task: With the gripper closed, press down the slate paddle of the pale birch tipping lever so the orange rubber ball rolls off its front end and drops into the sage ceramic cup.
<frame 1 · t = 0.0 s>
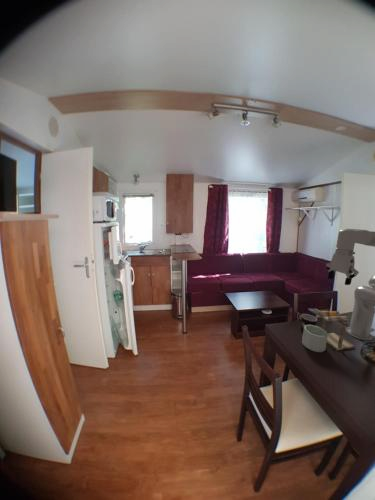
hand: (338, 281, 106), 37 cm above the table, tool pointing down, fingers open, 9 cm apart
tipping lever: (329, 317, 108), point 15 cm above the table, hinge at -6.0°, touching ball
lever stand: (329, 342, 109), on the table
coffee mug: (305, 330, 121), on the table
ball: (333, 314, 105), point 18 cm above the table, tilted 6°, touching tipping lever
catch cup: (313, 345, 107), on the table
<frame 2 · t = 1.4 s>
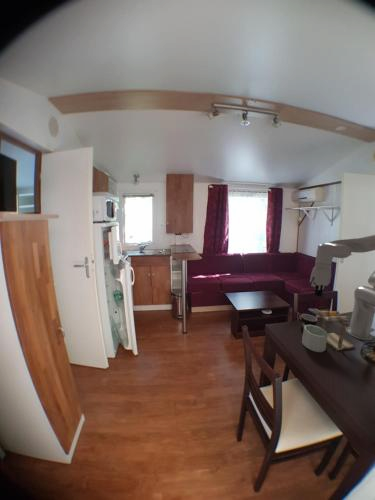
hand: (317, 295, 110), 27 cm above the table, tool pointing down, fingers closed
nothing on the table moved.
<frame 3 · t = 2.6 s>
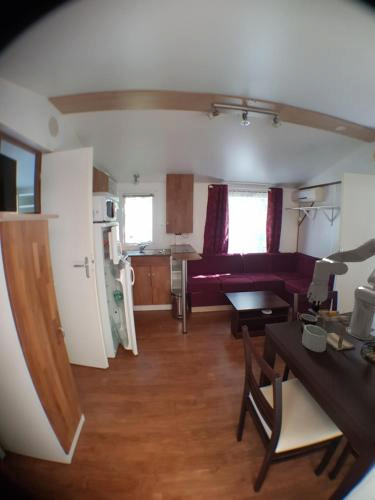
hand: (315, 310, 111), 17 cm above the table, tool pointing down, fingers closed
tipping lever: (329, 317, 109), point 15 cm above the table, hinge at -4.7°, touching ball, gripper
everything else where it was.
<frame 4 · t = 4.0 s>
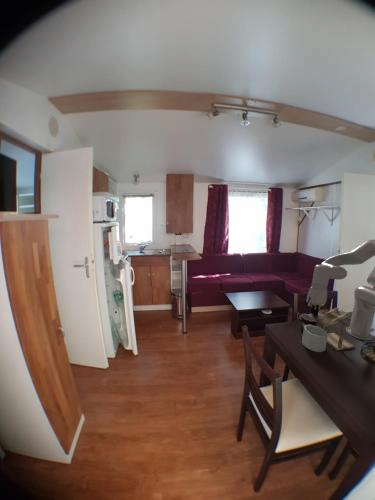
hand: (314, 314, 112), 15 cm above the table, tool pointing down, fingers closed
tipping lever: (330, 317, 109), point 15 cm above the table, hinge at 20.7°, touching gripper
ball: (317, 341, 107), point 2 cm above the table, tilted 89°, touching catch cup
everything else where it was.
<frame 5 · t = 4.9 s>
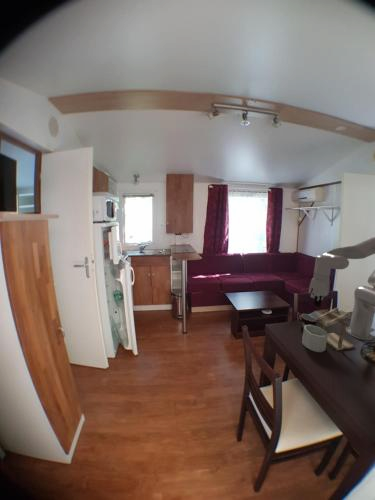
hand: (317, 305, 111), 20 cm above the table, tool pointing down, fingers closed
tipping lever: (330, 317, 109), point 15 cm above the table, hinge at 20.7°
ball: (316, 341, 107), point 2 cm above the table, tilted 71°, touching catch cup
everything else where it was.
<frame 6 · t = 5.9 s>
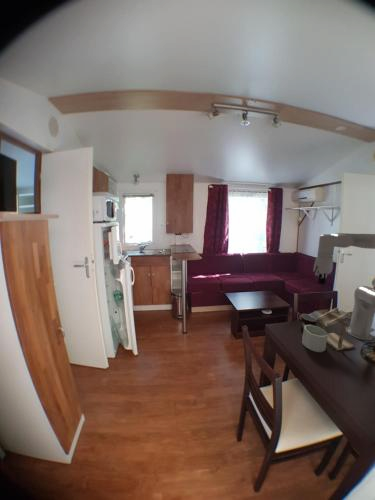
hand: (321, 283, 115), 32 cm above the table, tool pointing down, fingers closed
ball: (315, 341, 106), point 2 cm above the table, tilted 50°, touching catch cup
everything else where it was.
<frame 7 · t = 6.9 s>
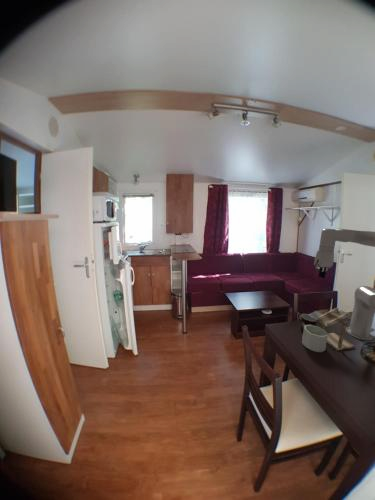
hand: (321, 277, 118), 35 cm above the table, tool pointing down, fingers closed
ball: (314, 341, 106), point 2 cm above the table, tilted 30°, touching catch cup
everything else where it was.
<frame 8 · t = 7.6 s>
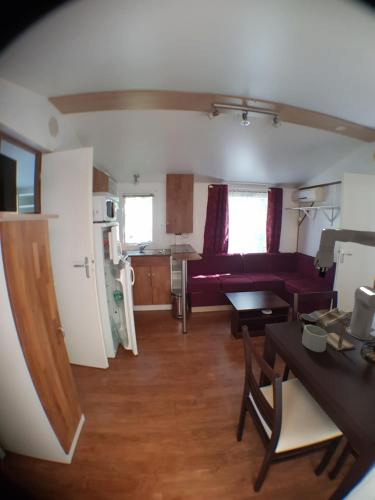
hand: (321, 277, 118), 35 cm above the table, tool pointing down, fingers closed
ball: (314, 341, 106), point 2 cm above the table, tilted 16°, touching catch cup
everything else where it was.
at the end: ball inside the target area on the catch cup (0.5 cm from its centre), point 2.3 cm above the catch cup's base; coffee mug moved 0.2 cm from its start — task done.
